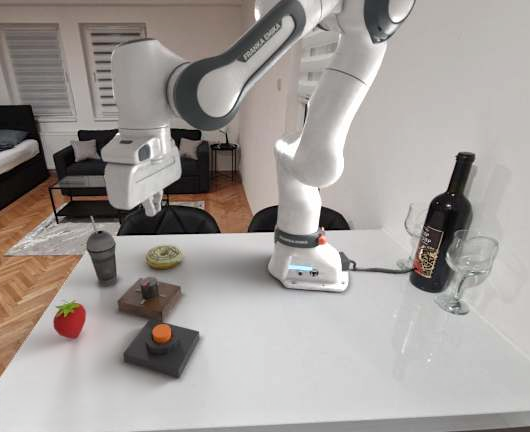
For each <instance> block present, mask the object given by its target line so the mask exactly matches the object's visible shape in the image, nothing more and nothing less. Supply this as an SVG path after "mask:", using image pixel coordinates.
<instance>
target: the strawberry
mask: <svg viewBox="0 0 530 432" xmlns="http://www.w3.org/2000/svg"><path fill="white" fill-rule="evenodd" d="M61 301H62V302H64V303H63V305H55V306H54V307H55V308H57V309H58V311H57V312H56V314H55V315H54V317H53V321H52V322H53V323H52V324H53V329H54V330H55V331H56V333H57V334H58V335H59V336H61V337H65V338H68V339H73V340H74V339H78V337H79V336H80V334H81V332H82V330H83V328H84V326H85V323H86V319H87V318H86V316H87V312H86V308H85V307H84V306H83V304H81V303H79V302H76V299H74V300H72V301H71V302H68V301H66V300H63V299H61ZM66 303H67V304H66Z"/></svg>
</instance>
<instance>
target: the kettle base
mask: <svg viewBox="0 0 530 432" xmlns="http://www.w3.org/2000/svg"><path fill="white" fill-rule="evenodd" d="M160 324H166V325H168V326H169V327H170V329H171V338H170V340H169V341H168V342H166V343H162V344H158V343H156V342H154V340H153V334H152V331H153V329H154V328H155V327H156V326H157V325H160ZM200 339H201V337H200V331H198V330H194V329H190V328H187V327H182V326H180V325H175V324H171V323H167V322H165V321H163V322H161V321H157V320H153V319H148V321H147V322H146V323H145V325H144V326H143V327H142V329H140V330H139V333H137V335H136V336H135V337H134V339H133V341H132V342H131V343H130V344H129V346H128V347H127V348H126V349H125V350H124V352H123V360H124V362H125V363H128V364H132V365H135V366H138V367H141V368H144V369H147V370H151V371H154V372H158V373H161V374H164V375H167V376H170V377H173V378H176V379H180V378H181V376H182V374H183V372H184V370H185V368H186V366H187V364H188V362H189V361H190V359H191V357H192V354H193V353H194V351H195V349H196V347H197V345H198V343H199V341H200Z"/></svg>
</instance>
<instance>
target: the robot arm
mask: <svg viewBox="0 0 530 432" xmlns="http://www.w3.org/2000/svg"><path fill="white" fill-rule="evenodd" d="M416 1H417V0H255V2H254V18H255V23H253V24H252V25H251V27H249V28H248V29H247V30H246V31H245V32H244V33H243V34H241V36H240V37H238V38H237V39H236V41H234V42H233V43H232V44H231V45H230V46H229V47H228V48H227V49H225V50H224V52H222V53H220V54H218V55H214V56H209V57H206V58H202V59H199V60H196V61H193V62H192V60H189V59H187V58H184V57H181V56H180V55H178V54H176V53H175V52H173V51H172V50H170V49H169V48H167V47H166V46H164V45H163V44H162V43H161V42H160V41H159V40H158V39H156V38H153V37H141V38H134V39H129V40H127V41H123V42H121V43H120V44H118V45H117V46H116V47H115V48H114V50H113V51H112V52H111V56H110V57H111V58H110V73H111V74H110V75H111V86H112V94H113V101H114V103H115V106H116V108H117V111H118V112H117V113H118V120H117V130H118V133H116V134H115V136H114V137H113V138H112V139H111V140H110V141H109V142H108V143H106V145H105V146H103V147H102V148H101V149H100V157H101V159H102V161H103V162H104V163H105V162H106V163H107V164H106V165H105V168H104V180H105V189H106V194H107V199H108V202H109V204H110V205H111V206H112V207H113V209H117V210H126V211H130V210H132V209H134V208H135V207H138V205H140V204H142V205H141V206H143V207H144V212H145V215H146V216H147V217H154V216H156V214H157V215H158V213H159V212H161V211H162V205H161V203H162V201H163V195H164V189H166V188H167V187H168V186H170V185H172V184H173V183H175V182H176V181H178V180H180V178H181V176H182V164H181V163H182V162H181V157H180V151H179V148H178V146H177V145H176V142H175V139H174V138H172V136H171V122H170V121H171V120H172V119H180V120H182V121H184V122H186V123H187V124H188V125H189V126H190V127H192V128H194V129H195V130H198V131H202V132H214V131H218V130H221V129H223V128H225V127H227V125H229V124H230V123H231V122H232V121H233V119H234V118H235V117H236V116H237V114H238V113H239V110H240V109H241V107H242V104H243V102H244V101H245V99H246V97H247V95H248V93H249V92H250V90H251V89H252V88H253V87H254V85H255V84H256V83H257V82H259V80H260V79H261V78H263V76H264V75H265V74H266V73H267V72H268V71H269V70H271V68H272V67H273V66H274V65H275V64H276V63H278V61H279V60H280V59H281V58H282V57H283V56H284V55H285V54H286V53H287V52H288V51H289V50H290V49H291V47H293V45H294V44H295V43H297V42H298V41H299V40H301V39H303V37H304V36H306V35H307V34H308V33H309V32H310V31H312V30H313V29H314V28H317V29H320V30H322V31H325V32H335V33H339V37H338V38H339V39H338V44H337V47H336V48H335V50H334V52H333V53H332V55H331V56H330V58H329V60H328V62H327V64H326V66H325V67H324V69H323V71H322V72H321V75H320V77H319V79H318V81H317V83H316V85H315V87H314V89H313V91H312V92H311V95H310V97H309V98H308V101H307V105H306V107H307V113H306V117H305V121H304V125H303V128H302V130H289V131H286V132H284V133H282V134H281V135H280V136H279V137H278V138H277V139H276V141H275V143H274V146H273V153H274V157H275V166H276V182H277V193H278V205H277V218H276V219H277V220H276V223H275V225H274V232H273V242H274V246H273V251H272V254H271V257H270V260H269V262H268V265H267V269H268V272H269V273H270V275H272V277H274V278H276V279H277V280H279V281H280V282H281V283H282V285H283V286H284V287H285V288H287V289H296V290H308V291H310V290H311V291H322V292H336V293H337V292H338V293H341V292H344V291H345V290H346V289H347V287H348V284H349V270H350V267H351V264H353V265H352V269H353V270H354V271H356V272H375V271H376V272H387V273H395V274H397V273H399V274H400V273H401V274H402V273H407V272H410V271H412V270H411V267H412V266H411V267H408V268H404V269H392V268H384V267H383V268H382V267H369V268H358V267H357V262H356V261H355V260H353V259H350V258H348V256H347V255H346V253H344V251H338V250H337V249H336V248H335V247H334V246H332V245H331V244H329V243H328V242H327V237H326V232H325V228H324V227H323V226H322V227H320V226H319V224H320V223H319V222H320V216H321V210H322V209H321V208H322V200H321V195H320V192H319V189H325V188H327V187H330V186H332V185H333V184H334V183H336V182H337V181H338V180H339V178H340V177H341V175H342V174H343V172H344V167H345V161H344V155H343V154H344V153H343V152H344V146H345V143H346V138H347V135H348V132H349V129H350V125H351V123H352V121H353V119H354V117H355V115H356V113H357V111H358V109H359V107H360V106H361V104H362V102H363V100H364V99H365V97H366V95H367V93H368V91H369V90H370V87H371V86H372V84H373V82H374V80H375V78H376V76H377V74H378V71H379V70H380V68H381V65H382V62H383V59H384V57H385V54H386V51H387V47H388V40H390V38H392V37H393V36H394V34H395V33H397V31H398V30H399V29H400V28H401V27H402V26H403V24H404V23H405V22H406V20H407V19H408V17H409V16H410V14H411V12H412V11H413V9H414V6H415V5H416Z"/></svg>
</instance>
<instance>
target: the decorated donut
mask: <svg viewBox="0 0 530 432" xmlns="http://www.w3.org/2000/svg"><path fill="white" fill-rule="evenodd" d="M182 258H183V254H182V250H181V249H180V248H179V247H178V246H175V245H169V244H168V245H167V244H164V245H158V246H157V245H156V246H155V247H154V246H153V247H152V248H150V249H149V250H148V251H147V252H146V253H145V261H146V263H147V264H148V265H149V266H150V267H151V268H154V269H156V270H168V269H170V268H173V267H175V266H176V265H177V264H178V263H180V262H181V261H182Z"/></svg>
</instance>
